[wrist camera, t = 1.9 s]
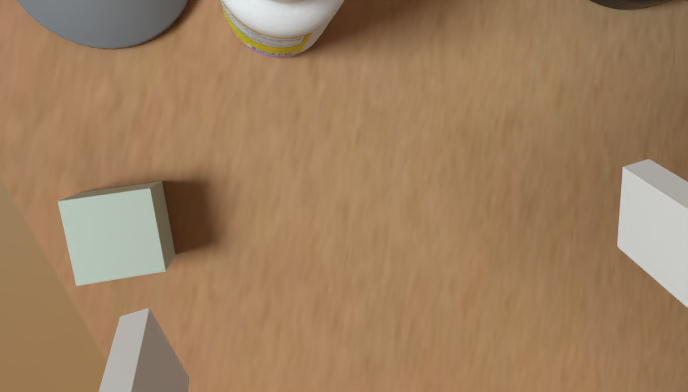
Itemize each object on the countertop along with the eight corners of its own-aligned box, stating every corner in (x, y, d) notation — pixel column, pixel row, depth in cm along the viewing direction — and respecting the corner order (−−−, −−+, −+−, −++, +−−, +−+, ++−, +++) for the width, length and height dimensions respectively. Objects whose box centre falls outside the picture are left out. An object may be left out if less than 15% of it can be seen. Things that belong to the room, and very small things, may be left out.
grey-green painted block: (162, 180, 33) (149, 188, 29) (175, 254, 34) (165, 271, 30) (81, 192, 32) (58, 201, 29) (97, 267, 33) (76, 286, 29)
